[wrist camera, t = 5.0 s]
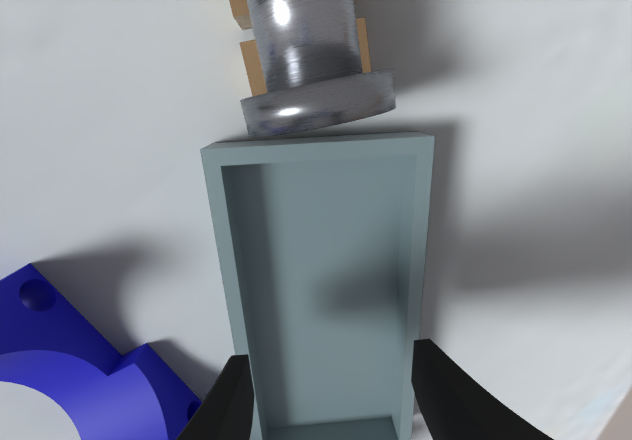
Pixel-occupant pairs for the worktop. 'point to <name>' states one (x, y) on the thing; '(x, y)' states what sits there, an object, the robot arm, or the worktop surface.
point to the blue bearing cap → (86, 367)
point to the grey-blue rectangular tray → (324, 277)
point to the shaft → (308, 66)
